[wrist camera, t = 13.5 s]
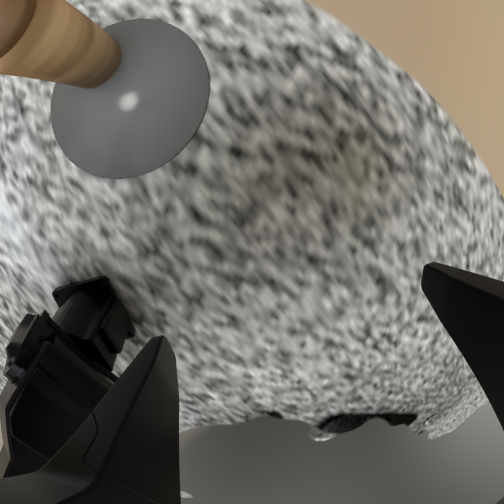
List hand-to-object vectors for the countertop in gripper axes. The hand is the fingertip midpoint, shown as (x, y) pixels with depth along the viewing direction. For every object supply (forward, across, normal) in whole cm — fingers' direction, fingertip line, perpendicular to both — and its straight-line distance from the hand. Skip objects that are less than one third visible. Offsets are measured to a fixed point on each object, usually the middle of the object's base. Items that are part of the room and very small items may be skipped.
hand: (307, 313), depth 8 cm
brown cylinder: (+13, +8, -13) cm, 20 cm away
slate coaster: (+13, +7, -10) cm, 18 cm away
